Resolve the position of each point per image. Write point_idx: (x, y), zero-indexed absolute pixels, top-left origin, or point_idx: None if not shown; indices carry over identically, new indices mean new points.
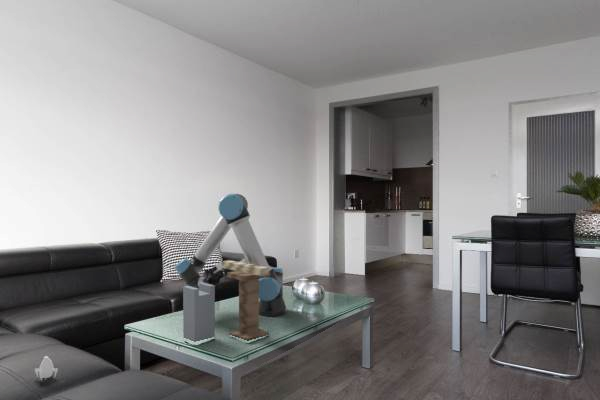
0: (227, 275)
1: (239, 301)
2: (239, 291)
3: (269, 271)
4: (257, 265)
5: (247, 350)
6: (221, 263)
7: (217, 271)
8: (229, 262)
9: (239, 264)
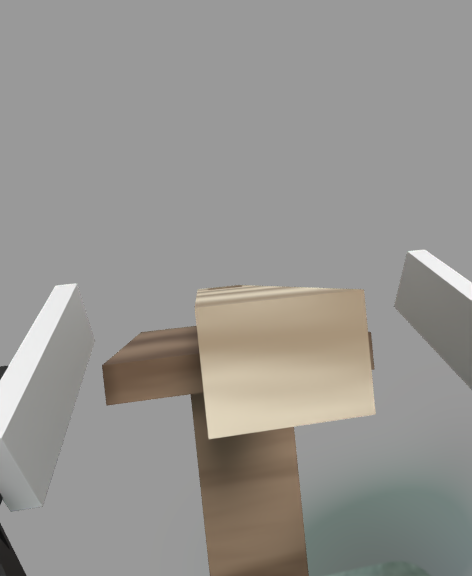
0: (370, 354)
1: (302, 532)
2: (296, 463)
3: (144, 332)
4: (200, 290)
5: (347, 572)
6: (406, 267)
7: (465, 376)
8: (294, 288)
9: (264, 286)
